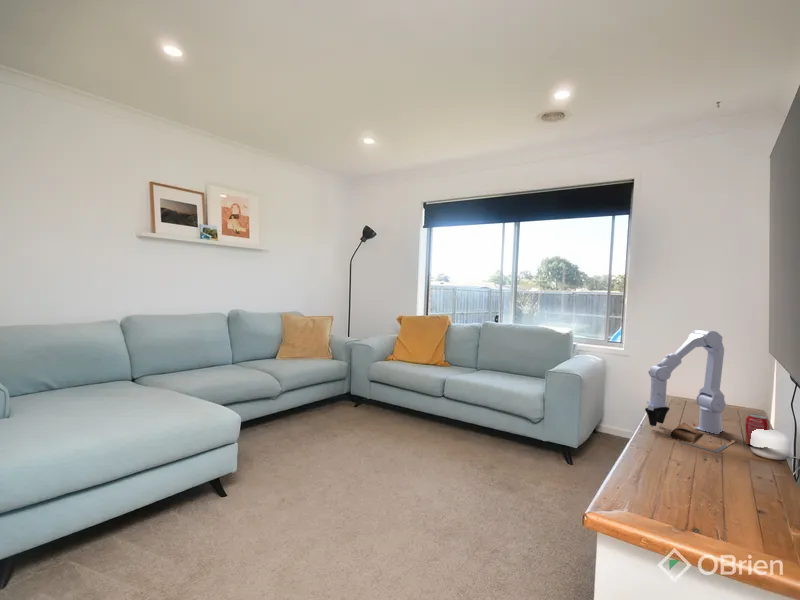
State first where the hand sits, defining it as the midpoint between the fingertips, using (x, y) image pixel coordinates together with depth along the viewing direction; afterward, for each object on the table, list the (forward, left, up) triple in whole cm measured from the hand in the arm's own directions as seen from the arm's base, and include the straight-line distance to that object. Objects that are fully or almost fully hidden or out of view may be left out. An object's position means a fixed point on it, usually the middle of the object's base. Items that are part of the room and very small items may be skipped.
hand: (656, 424), depth 176 cm
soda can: (-12, +31, -2) cm, 33 cm away
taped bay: (0, +18, -2) cm, 18 cm away
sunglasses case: (0, +11, -2) cm, 12 cm away
